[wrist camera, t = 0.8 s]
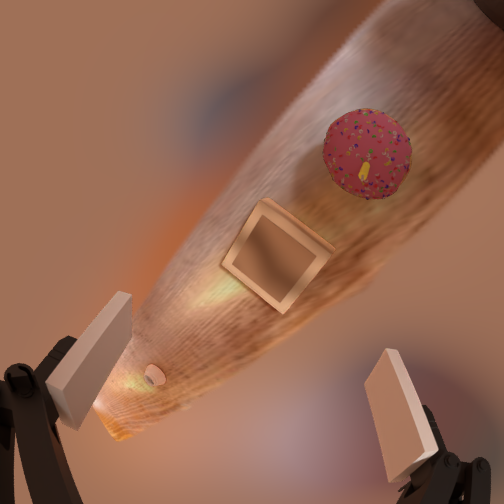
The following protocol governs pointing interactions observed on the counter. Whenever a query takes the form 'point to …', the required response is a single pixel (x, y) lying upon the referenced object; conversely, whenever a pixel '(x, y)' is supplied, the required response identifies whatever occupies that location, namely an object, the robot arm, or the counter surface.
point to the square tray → (276, 255)
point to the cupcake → (367, 153)
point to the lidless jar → (154, 376)
